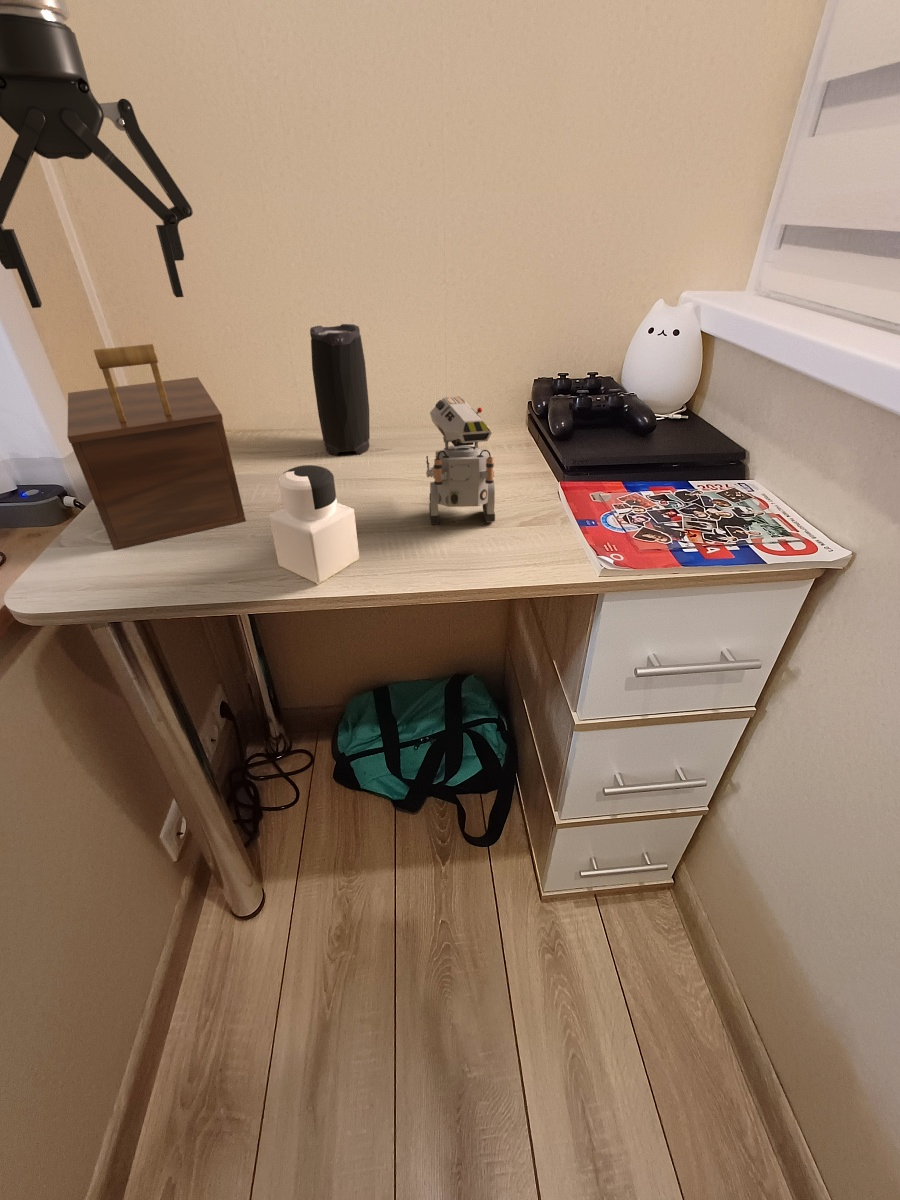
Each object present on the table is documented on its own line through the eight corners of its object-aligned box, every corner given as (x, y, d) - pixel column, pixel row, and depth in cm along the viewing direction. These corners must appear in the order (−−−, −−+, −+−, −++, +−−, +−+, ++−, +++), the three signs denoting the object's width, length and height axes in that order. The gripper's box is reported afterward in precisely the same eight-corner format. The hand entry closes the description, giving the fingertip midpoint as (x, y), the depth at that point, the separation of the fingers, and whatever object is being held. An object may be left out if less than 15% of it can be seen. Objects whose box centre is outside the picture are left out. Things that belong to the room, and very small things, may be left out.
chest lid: (223, 420, 70) (205, 343, 65) (69, 443, 64) (36, 360, 59) (199, 382, 83) (182, 316, 78) (70, 398, 77) (42, 327, 72)
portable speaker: (366, 436, 105) (356, 320, 94) (376, 455, 98) (367, 332, 87) (319, 441, 103) (304, 323, 92) (326, 461, 96) (310, 336, 85)
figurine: (486, 492, 87) (490, 392, 78) (496, 529, 77) (502, 420, 69) (426, 494, 86) (424, 393, 77) (429, 531, 77) (426, 421, 68)
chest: (246, 521, 79) (222, 418, 71) (113, 550, 73) (70, 441, 64) (222, 474, 92) (199, 382, 83) (107, 496, 85) (70, 399, 77)
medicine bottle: (320, 542, 75) (307, 454, 68) (360, 559, 71) (351, 469, 64) (277, 566, 70) (258, 474, 63) (318, 585, 67) (303, 491, 60)
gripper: (173, 41, 56) (224, 287, 68) (-155, 13, 46) (-25, 304, 59) (184, 27, 50) (237, 296, 63) (-184, -9, 41) (-35, 317, 54)
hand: (110, 300), depth 61 cm, fingers open, 13 cm apart
